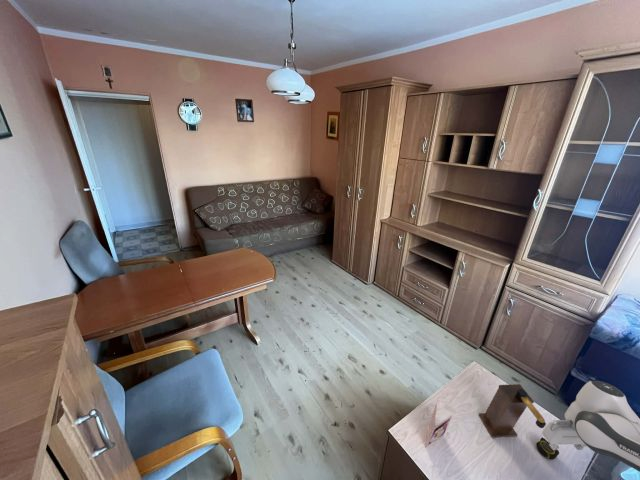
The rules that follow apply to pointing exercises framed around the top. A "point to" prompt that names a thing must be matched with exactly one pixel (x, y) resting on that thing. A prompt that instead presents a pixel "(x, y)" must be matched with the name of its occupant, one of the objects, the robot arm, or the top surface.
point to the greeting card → (436, 429)
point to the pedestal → (504, 412)
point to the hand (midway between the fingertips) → (565, 447)
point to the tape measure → (546, 449)
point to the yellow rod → (531, 407)
